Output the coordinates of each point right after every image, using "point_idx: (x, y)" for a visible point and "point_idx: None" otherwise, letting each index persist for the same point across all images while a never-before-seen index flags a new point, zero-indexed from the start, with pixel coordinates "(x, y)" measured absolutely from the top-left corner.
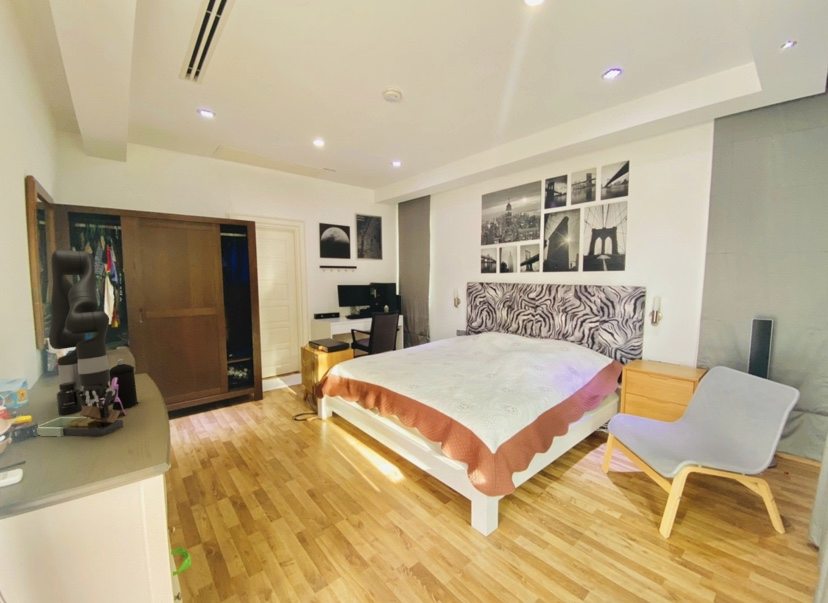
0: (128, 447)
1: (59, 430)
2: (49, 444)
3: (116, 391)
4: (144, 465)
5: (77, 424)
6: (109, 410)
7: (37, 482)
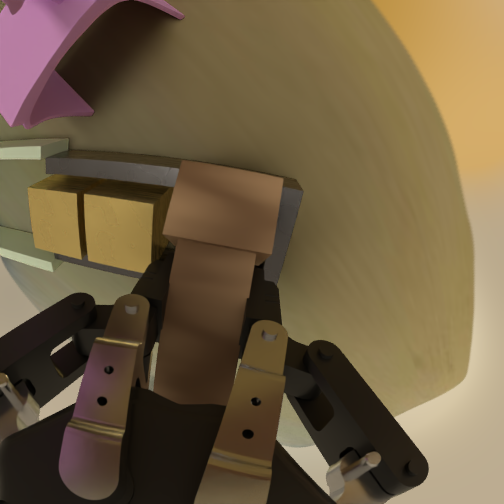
0: (409, 350)
1: (56, 266)
2: (102, 304)
3: (417, 461)
4: (445, 388)
5: (86, 247)
6: (239, 250)
7: (289, 429)
